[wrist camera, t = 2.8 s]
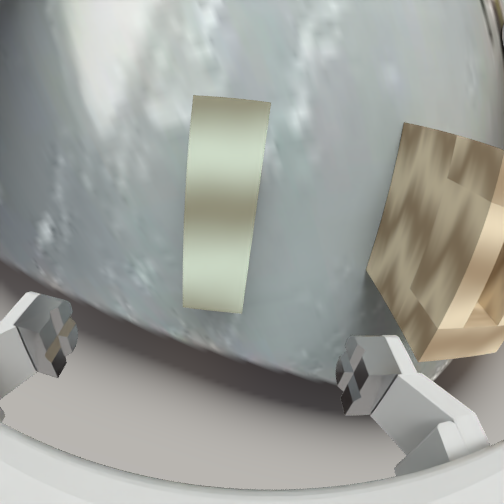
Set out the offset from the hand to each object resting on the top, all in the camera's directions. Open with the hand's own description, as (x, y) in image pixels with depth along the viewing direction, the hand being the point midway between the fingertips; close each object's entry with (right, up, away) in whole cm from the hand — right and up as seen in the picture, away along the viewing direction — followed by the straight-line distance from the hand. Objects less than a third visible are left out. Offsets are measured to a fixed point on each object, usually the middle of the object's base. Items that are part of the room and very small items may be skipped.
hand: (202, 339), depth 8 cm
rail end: (0, +8, +15) cm, 17 cm away
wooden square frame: (+17, +6, +16) cm, 25 cm away
